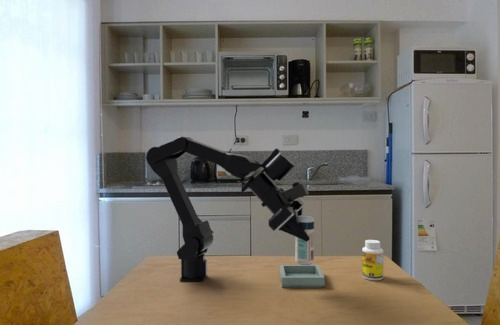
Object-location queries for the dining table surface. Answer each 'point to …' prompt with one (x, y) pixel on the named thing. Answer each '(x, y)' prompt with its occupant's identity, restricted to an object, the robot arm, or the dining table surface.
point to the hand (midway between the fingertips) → (310, 237)
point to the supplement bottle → (372, 260)
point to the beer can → (305, 242)
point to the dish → (302, 276)
